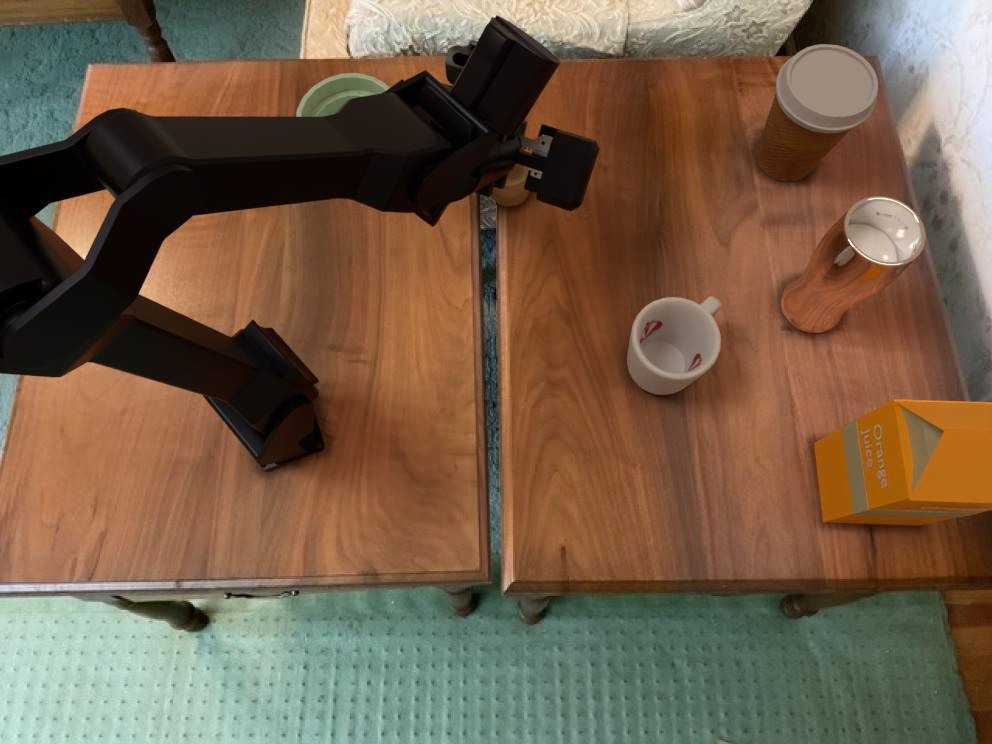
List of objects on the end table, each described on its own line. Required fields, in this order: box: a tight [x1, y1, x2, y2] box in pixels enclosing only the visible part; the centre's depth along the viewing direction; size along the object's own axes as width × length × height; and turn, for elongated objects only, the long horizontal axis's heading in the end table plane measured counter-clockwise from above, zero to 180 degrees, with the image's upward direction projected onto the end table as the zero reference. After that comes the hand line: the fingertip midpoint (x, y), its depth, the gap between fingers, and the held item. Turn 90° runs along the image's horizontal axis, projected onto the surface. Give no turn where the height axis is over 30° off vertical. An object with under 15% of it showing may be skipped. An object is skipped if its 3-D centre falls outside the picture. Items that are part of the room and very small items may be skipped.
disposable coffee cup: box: [755, 43, 879, 183], centre depth 72 cm, size 10×10×12 cm
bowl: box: [295, 72, 390, 117], centre depth 77 cm, size 11×11×4 cm
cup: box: [626, 295, 722, 396], centre depth 66 cm, size 11×8×8 cm
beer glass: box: [780, 195, 927, 334], centre depth 64 cm, size 7×7×15 cm
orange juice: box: [813, 398, 992, 527], centre depth 56 cm, size 8×9×20 cm
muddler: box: [490, 117, 530, 207], centre depth 70 cm, size 4×4×14 cm
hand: (514, 137), depth 70 cm, fingers open, 6 cm apart
